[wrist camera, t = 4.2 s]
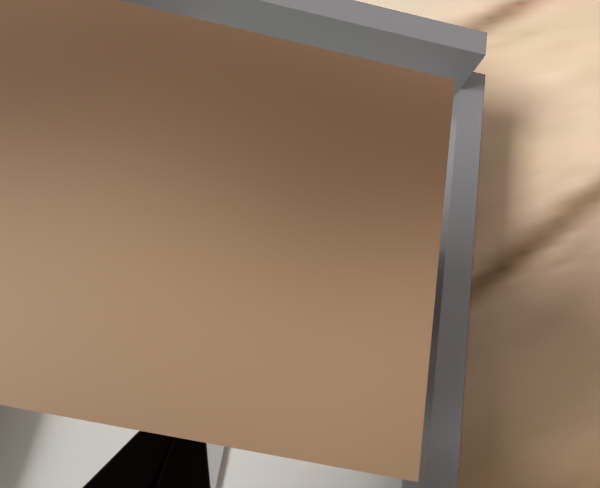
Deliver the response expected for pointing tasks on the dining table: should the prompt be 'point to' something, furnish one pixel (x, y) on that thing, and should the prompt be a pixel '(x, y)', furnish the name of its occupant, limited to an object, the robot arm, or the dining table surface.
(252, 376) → the slider
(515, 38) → the dining table surface
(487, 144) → the dining table surface
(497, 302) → the dining table surface
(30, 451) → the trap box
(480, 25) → the dining table surface
